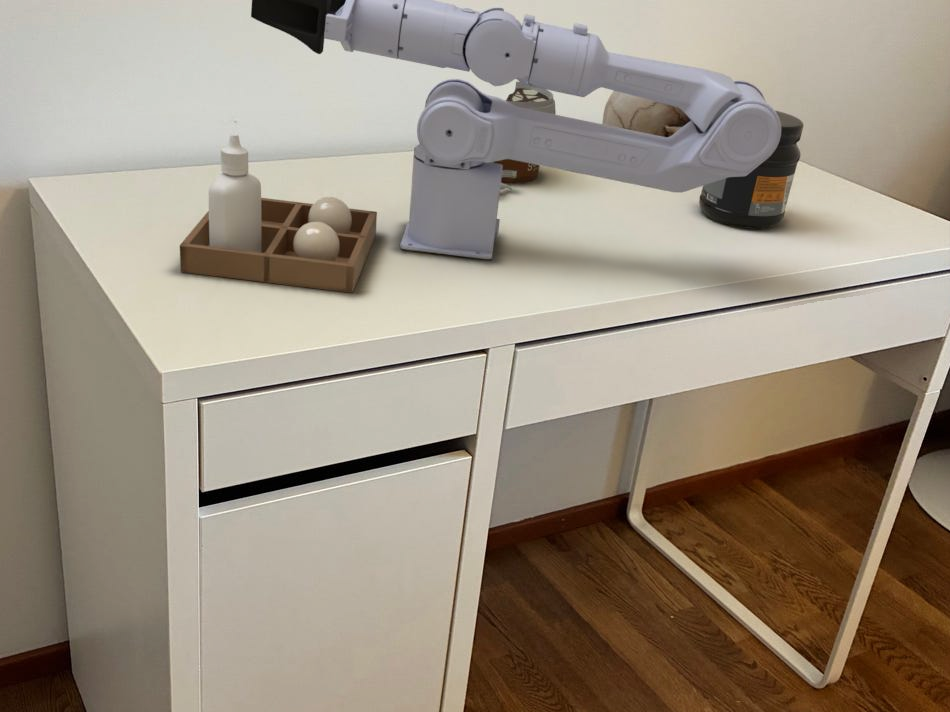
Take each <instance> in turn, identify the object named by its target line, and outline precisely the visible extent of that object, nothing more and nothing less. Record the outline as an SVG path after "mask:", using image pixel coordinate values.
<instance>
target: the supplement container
mask: <svg viewBox="0 0 950 712" xmlns="http://www.w3.org/2000/svg"><path fill="white" fill-rule="evenodd" d="M775 111H776V113H777V115H778V116H779V119H780V123H781V137H780V141H779V143H778V146H777V148H776V149H775V151H774V152H773V153H772V155H771V156H770V157H769V158H768V159H766V160H765V161H764V162H763V163H761V164H760V165H759V166H758V167H757V168H755V169H754V170H753V171H752V172H750V173H749V174H748V175H747V176H742V177H728V178H725V179H722V180H719V181H716V182H713V183H710V184H707V185H704V186H702V188H701V193H700V195H699V199H698V205H699V209H700V210H701V211H702V212H703V214H705V215H706V216H707V217H708V218H710V219H712V220H714V221H716V222H718V223H721V224H724V225H727V226H732V227H736V228H743V229H754V230H755V229H758V230H760V229H768V228H772V227H775V226H777V225H779V224H780V223H782V221H783V219H784V217H785V215H786V208H787V204H788V201H789V197H790V192H791V188H792V185H793V182H794V178H795V173H796V169H797V166H798V163H799V162H800V159H801V150H800V148H799V146H798V143H799V142H800V141H801V137H802V134H803V130H804V122H803V121H802V120H801V119H800V118H799V117H797V116H795V115H792V114H789V113H786V112H783V111H779V110H775Z"/></svg>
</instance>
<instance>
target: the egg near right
mask: <svg viewBox="0 0 950 712" xmlns="http://www.w3.org/2000/svg"><path fill="white" fill-rule="evenodd" d="M293 249H294V252H295V255H296V257H301V258H309V259H318V260H326V261H335V260H336V258H337V257H338V254H339V250H340V242H339V238H338V236H337V234H336V232H335V231H334V230H333V229H332V228H331V227H330V226H329V225H327V224H325V223H322V222H309V223H307V224H305V225H303V226H302V227H300V228H299V230H298V231H297V232H296V234H295V237H294V240H293Z"/></svg>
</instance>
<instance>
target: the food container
mask: <svg viewBox="0 0 950 712" xmlns="http://www.w3.org/2000/svg"><path fill="white" fill-rule="evenodd" d="M527 84H528V82H527ZM505 101H507V102H509V103H511V104H513V105H515V106H517V107H521V108H525V109H530V110H535V111H540V112H545V113H550V114H555V115H557V113H556V112H557V111H556V101H555V99H554V94H553V93H552V91H551V90H546V89H541V88H537V87H532V86H528V85H523V84H521V83H520V82H519V81H518V80H516V81H515V88H514V91H513V92H512V93H510V94H508V96H507V97H506V99H505ZM494 163H497V164H501V165H503V169H502V178H501V183H503V184H509V185H514V184H515V185H516V184H517V185H518V184H527V183H532V182H534V181H536V180H537V179H538V177H539V176H538V175H539V171H540V167H541V165H536V164H531V163H526V162H521V161H516V160H511V159H504V160H499V161H495V162H494Z"/></svg>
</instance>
